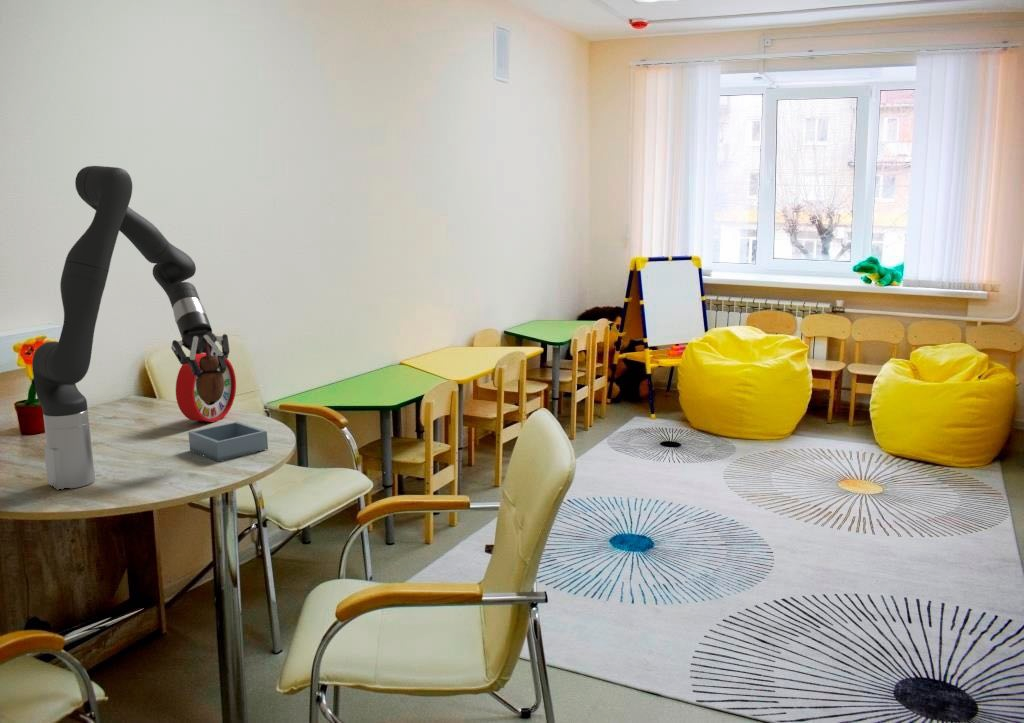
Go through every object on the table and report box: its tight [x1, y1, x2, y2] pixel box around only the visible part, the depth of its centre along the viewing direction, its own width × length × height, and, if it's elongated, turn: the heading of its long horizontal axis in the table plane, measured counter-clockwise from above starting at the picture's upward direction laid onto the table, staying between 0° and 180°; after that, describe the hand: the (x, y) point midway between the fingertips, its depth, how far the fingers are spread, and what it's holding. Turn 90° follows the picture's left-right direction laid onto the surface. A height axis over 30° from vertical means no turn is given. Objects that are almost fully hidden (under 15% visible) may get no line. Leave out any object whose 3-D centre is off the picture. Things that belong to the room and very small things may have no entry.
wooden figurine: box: [196, 343, 224, 402], centre depth 221 cm, size 7×6×15 cm
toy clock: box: [175, 353, 237, 423], centre depth 262 cm, size 20×6×20 cm, turn 161°
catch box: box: [187, 421, 269, 462], centre depth 232 cm, size 14×15×5 cm
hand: (210, 372), depth 219 cm, fingers closed on wooden figurine, 5 cm apart
